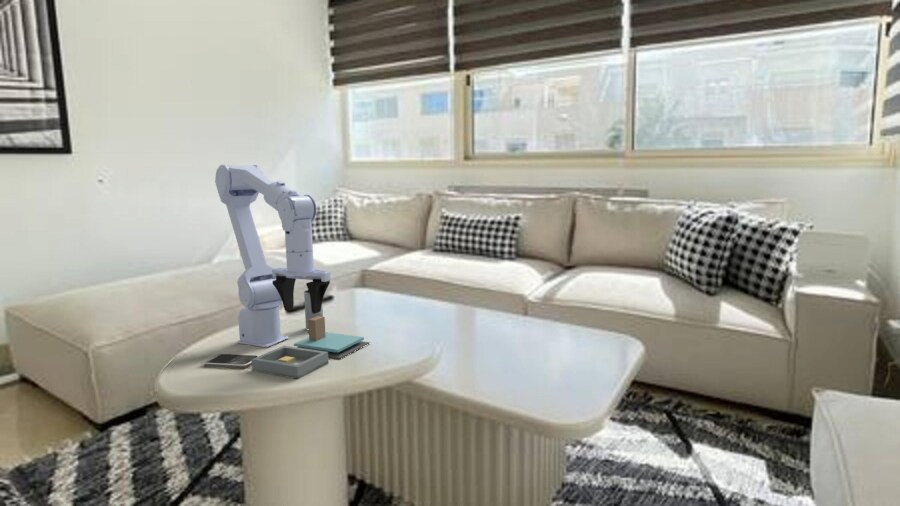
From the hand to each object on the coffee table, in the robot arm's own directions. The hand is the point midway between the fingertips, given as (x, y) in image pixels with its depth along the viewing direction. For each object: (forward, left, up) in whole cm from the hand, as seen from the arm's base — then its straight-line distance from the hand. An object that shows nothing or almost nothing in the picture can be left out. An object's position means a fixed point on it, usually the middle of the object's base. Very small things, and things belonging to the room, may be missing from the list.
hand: (302, 310), depth 122 cm
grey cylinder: (-12, +19, -11) cm, 25 cm away
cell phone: (-12, -10, -11) cm, 19 cm away
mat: (+2, +7, -10) cm, 13 cm away
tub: (+2, -7, -10) cm, 13 cm away
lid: (+2, +7, -9) cm, 12 cm away
